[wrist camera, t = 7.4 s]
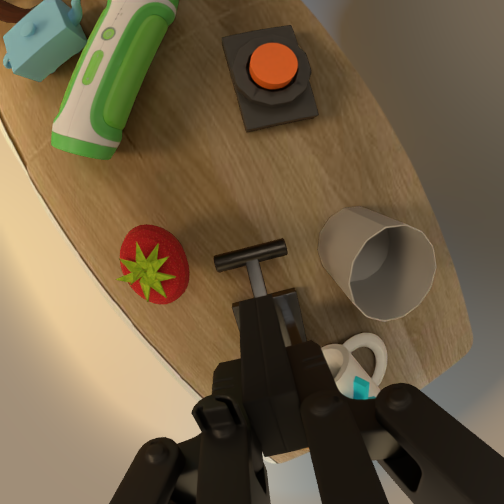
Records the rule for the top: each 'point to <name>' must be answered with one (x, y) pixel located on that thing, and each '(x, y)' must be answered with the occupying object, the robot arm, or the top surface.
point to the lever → (252, 261)
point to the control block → (261, 99)
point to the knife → (12, 12)
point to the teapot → (44, 39)
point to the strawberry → (154, 264)
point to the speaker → (110, 76)
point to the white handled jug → (356, 366)
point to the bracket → (285, 316)
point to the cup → (377, 262)
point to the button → (273, 65)
